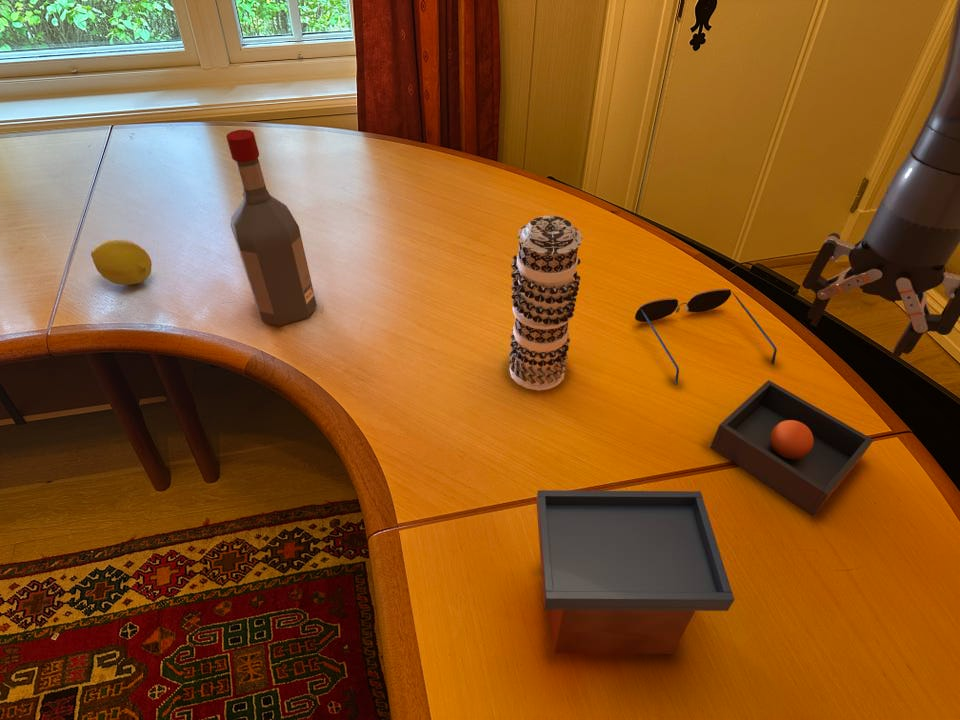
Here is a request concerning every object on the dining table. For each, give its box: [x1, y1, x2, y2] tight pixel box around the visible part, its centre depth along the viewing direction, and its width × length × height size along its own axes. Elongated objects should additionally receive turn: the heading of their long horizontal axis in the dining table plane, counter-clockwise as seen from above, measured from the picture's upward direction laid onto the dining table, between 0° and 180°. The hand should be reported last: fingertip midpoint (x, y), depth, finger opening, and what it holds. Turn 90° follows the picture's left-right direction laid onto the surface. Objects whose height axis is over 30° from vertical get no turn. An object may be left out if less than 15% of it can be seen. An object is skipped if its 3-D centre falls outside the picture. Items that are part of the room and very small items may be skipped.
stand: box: [550, 610, 696, 655], centre depth 61 cm, size 12×9×12 cm
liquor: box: [226, 129, 317, 327], centre depth 93 cm, size 9×9×30 cm
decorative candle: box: [508, 215, 584, 391], centre depth 83 cm, size 9×9×25 cm
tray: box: [535, 489, 735, 612], centre depth 56 cm, size 16×11×2 cm
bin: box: [709, 379, 874, 517], centre depth 79 cm, size 14×12×5 cm
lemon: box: [90, 238, 153, 286], centre depth 106 cm, size 11×8×8 cm
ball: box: [770, 420, 814, 459], centre depth 78 cm, size 5×5×5 cm
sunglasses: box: [634, 288, 778, 385], centre depth 95 cm, size 17×15×5 cm
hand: (855, 336), depth 68 cm, fingers open, 8 cm apart
